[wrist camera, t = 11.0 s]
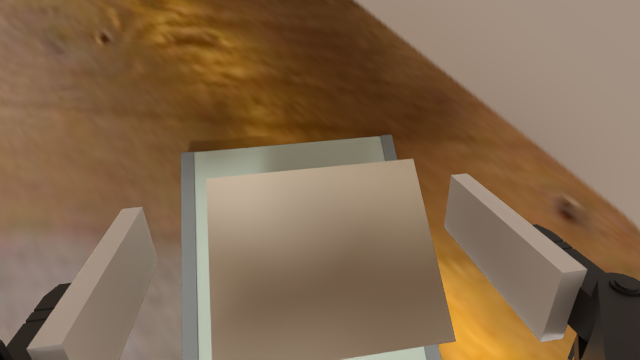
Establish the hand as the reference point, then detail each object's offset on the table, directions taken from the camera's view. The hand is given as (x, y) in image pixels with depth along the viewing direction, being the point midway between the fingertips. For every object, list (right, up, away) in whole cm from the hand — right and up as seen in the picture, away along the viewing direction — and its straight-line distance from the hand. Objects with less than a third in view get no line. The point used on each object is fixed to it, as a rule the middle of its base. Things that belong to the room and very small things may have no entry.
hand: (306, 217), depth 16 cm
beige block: (0, -5, +5) cm, 7 cm away
